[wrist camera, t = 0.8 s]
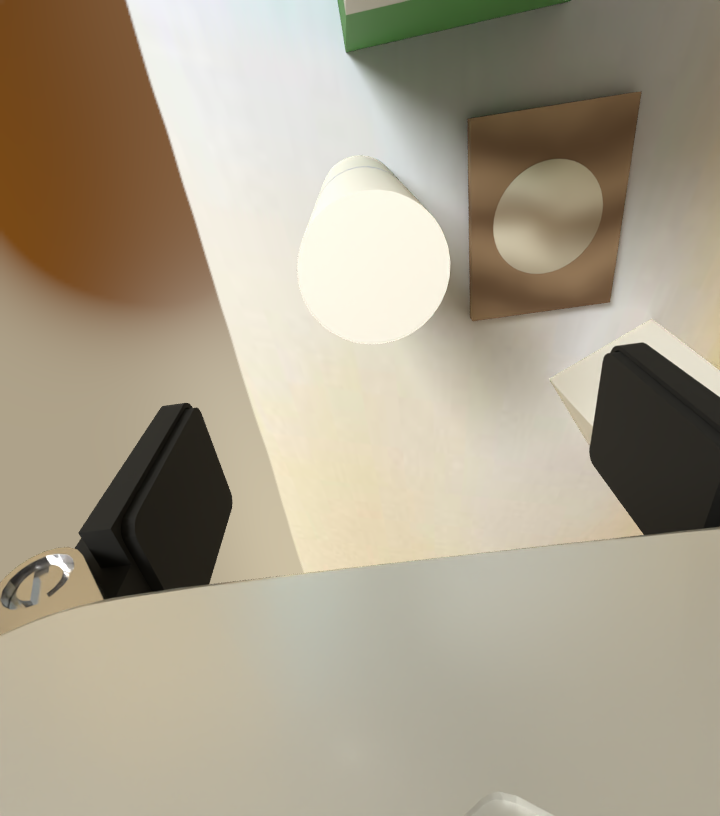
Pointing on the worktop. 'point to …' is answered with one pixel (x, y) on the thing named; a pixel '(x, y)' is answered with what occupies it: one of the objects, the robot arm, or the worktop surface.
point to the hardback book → (419, 17)
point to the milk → (584, 376)
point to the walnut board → (547, 204)
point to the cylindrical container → (371, 256)
